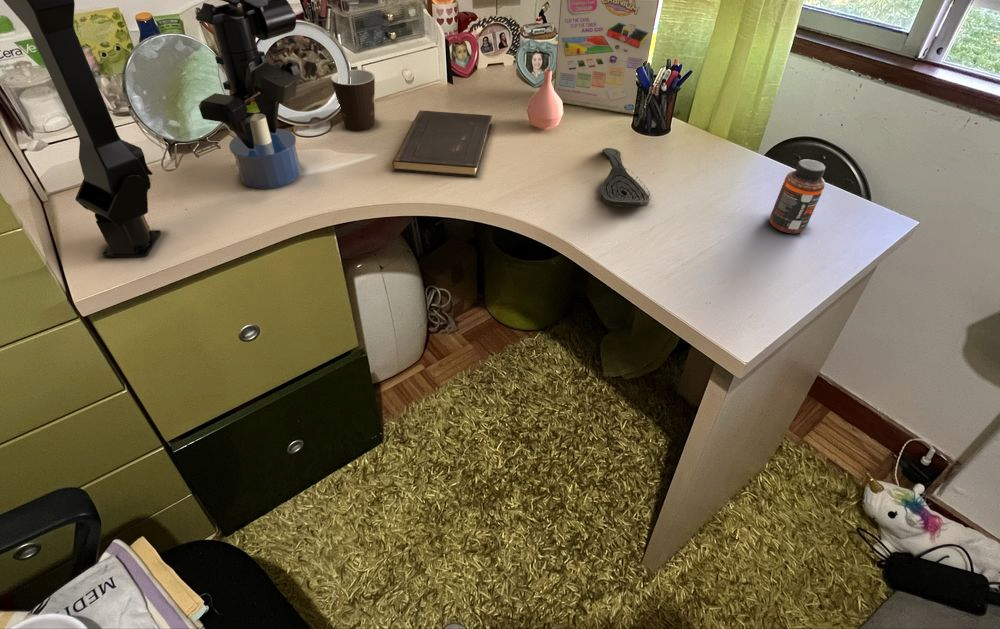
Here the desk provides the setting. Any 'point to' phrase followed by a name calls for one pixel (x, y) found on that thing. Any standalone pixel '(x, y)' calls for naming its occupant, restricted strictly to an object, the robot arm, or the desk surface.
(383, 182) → the desk surface
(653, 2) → the game box
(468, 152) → the hardcover book
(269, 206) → the desk surface
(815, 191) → the supplement bottle
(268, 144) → the blue pot lid
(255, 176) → the blue round container
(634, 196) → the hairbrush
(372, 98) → the coffee mug
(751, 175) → the desk surface
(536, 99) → the pink vase
